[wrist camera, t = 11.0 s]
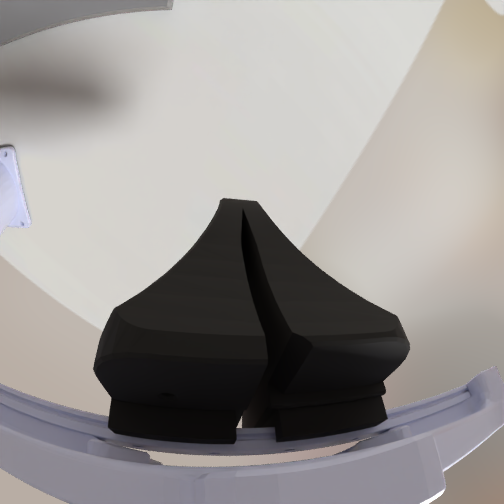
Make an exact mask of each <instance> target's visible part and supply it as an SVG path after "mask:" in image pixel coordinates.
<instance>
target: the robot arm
mask: <svg viewBox="0 0 504 504" xmlns="http://www.w3.org/2000/svg"><path fill="white" fill-rule="evenodd" d="M6 152H7V154H6ZM30 225H31V220H30V216H29V213H28V209H27V205H26V202H25V198H24V194H23V189H22V185H21V180H20V176H19V171H18V165H17V160H16V154H15V149H14V148H13V147H12V146H9V147H3V148H0V235H1V234H2V233H3V231H4V230H5V229H6V228H7V227H20V228H29V227H30ZM409 350H410V343H409V341H408V339H407V337H406V334H405V332H404V330H403V327H402V325H401V323H400V321H399V319H398V317H397V316H396V315H394V314H392V313H390V312H388V311H386V310H384V309H382V308H380V307H378V306H377V305H374V304H373V303H371V302H369V301H367V300H365V299H363V298H362V297H360V296H359V295H357V294H355V293H354V292H352V291H351V290H349V289H348V288H346V287H345V286H343V285H342V284H340V283H338V282H337V281H336V280H334V279H333V278H332V277H330V276H329V275H328V274H326V273H325V272H324V271H322V270H321V269H320V268H319V267H317V266H316V265H315V264H314V263H312V261H310V260H309V259H308V258H307V257H306V256H305V255H303V254H302V253H301V252H300V251H299V250H298V249H297V248H296V247H295V246H294V245H293V244H292V243H291V242H290V241H289V239H288V238H287V237H286V236H285V235H284V234H283V233H282V232H281V231H280V230H279V228H278V227H277V226H276V225H275V224H274V222H273V221H272V220H271V219H270V217H269V216H268V215H267V213H266V212H265V211H264V210H263V208H262V207H261V206H260V204H259V203H258V202H257V201H249V200H238V199H227V198H223V199H222V200H220V204H219V207H218V209H217V211H216V213H215V215H214V217H213V219H212V220H211V222H210V223H209V225H208V227H207V228H206V230H205V231H204V232H203V234H202V235H201V236H200V238H199V239H198V240H197V242H196V243H195V244H194V245H193V247H192V248H191V249H190V250H189V251H188V252H187V253H186V254H185V255H184V256H183V257H182V258H181V259H180V260H179V261H178V262H177V263H176V264H175V265H174V266H173V267H172V268H171V269H170V270H169V271H168V272H166V273H165V274H164V275H163V276H162V277H160V278H159V279H158V280H156V281H155V282H154V283H152V284H151V285H150V286H149V287H147V288H146V289H145V290H143V291H142V292H140V293H139V294H137V295H136V296H134V297H132V298H131V299H129V300H127V301H126V302H124V303H123V304H121V305H119V306H117V307H116V308H114V310H113V311H112V313H111V315H110V317H109V319H108V321H107V323H106V326H105V328H104V330H103V332H102V335H101V338H100V341H99V345H98V349H97V353H96V358H95V362H94V367H93V370H94V372H95V375H96V377H97V378H98V380H99V381H100V383H101V384H102V385H103V387H104V388H105V390H106V391H107V392H108V394H109V395H110V396H111V398H112V399H111V406H110V413H109V417H108V416H104V415H98V414H94V413H90V412H85V411H81V410H78V409H74V408H70V407H66V406H63V405H59V404H56V403H53V402H49V401H46V400H43V399H40V398H37V397H34V396H31V395H28V394H25V393H23V392H20V391H18V390H15V389H13V388H10V387H7V386H5V385H3V384H0V468H2V469H3V470H4V471H6V472H8V473H9V474H11V475H13V476H14V477H16V478H18V479H20V480H21V481H23V482H25V483H27V484H29V485H31V486H32V487H34V488H36V489H39V490H40V491H43V492H44V493H47V494H49V495H51V496H53V497H55V498H58V499H60V500H62V501H64V502H67V503H69V504H428V503H430V502H431V501H433V500H435V499H436V498H438V497H439V496H440V495H442V493H443V492H444V490H445V489H446V483H445V478H444V473H443V472H444V471H445V470H447V469H448V468H450V467H451V466H452V465H454V464H455V463H457V462H458V461H460V460H461V459H462V458H464V457H465V456H466V455H468V454H469V453H470V452H471V451H473V450H474V449H475V448H476V447H478V446H479V445H480V444H481V443H483V442H484V441H485V440H486V439H487V438H489V437H490V436H491V435H492V434H493V433H494V432H496V431H497V430H498V429H499V428H500V427H502V426H503V425H504V383H503V381H502V378H501V376H500V374H499V371H498V369H497V367H496V366H493V367H491V368H489V369H486V370H484V371H482V372H480V373H479V374H477V375H476V376H474V377H473V378H472V379H471V380H470V381H468V382H467V384H465V385H463V386H460V387H458V388H455V389H452V390H449V391H447V392H444V393H442V394H439V395H436V396H432V397H429V398H427V399H423V400H420V401H417V402H414V403H410V404H406V405H403V406H399V407H395V408H392V409H388V410H385V407H384V403H383V400H382V397H381V396H382V395H384V394H385V393H386V389H385V386H384V382H383V381H384V380H385V379H386V378H387V377H388V376H389V375H390V374H391V373H392V372H393V371H395V370H396V369H397V368H398V367H399V366H400V365H401V364H402V362H403V361H404V360H405V359H406V357H407V355H408V352H409ZM241 416H242V428H236V427H237V425H238V423H239V421H240V419H241ZM370 437H371V438H370ZM367 438H369V439H367ZM362 439H366V440H363V441H360V442H358V443H357V444H356V445H355V446H353V447H351V448H349V449H347V450H345V451H342V452H340V453H337V454H334V455H332V456H326V457H320V458H314V459H308V460H301V461H293V462H284V463H276V464H265V465H251V466H233V467H184V466H165V465H163V464H161V463H160V462H157V461H155V460H152V459H150V455H149V454H148V453H147V452H142V451H138V450H134V449H130V448H136V449H142V450H149V451H157V452H165V453H176V454H190V455H191V454H192V455H213V456H214V455H215V456H239V455H263V454H275V453H287V452H295V451H304V450H310V449H317V448H323V447H329V446H334V445H339V444H345V443H349V442H354V441H358V440H362ZM122 446H124V447H122ZM126 447H130V448H126Z"/></svg>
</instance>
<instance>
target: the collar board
mask: <svg viewBox="0 0 504 504" xmlns="http://www.w3.org/2000/svg"><path fill="white" fill-rule="evenodd" d="M172 5H173V0H0V46H2V45H5V44H7V43H9V42H12V41H14V40H17V39H20V38H22V37H25V36H28V35H31V34H34V33H37V32H40V31H43V30H46V29H49V28H53V27H56V26H60V25H64V24H68V23H72V22H76V21H81V20H85V19H90V18H95V17H101V16H107V15H114V14H121V13H130V12H140V11H154V10H172Z"/></svg>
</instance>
